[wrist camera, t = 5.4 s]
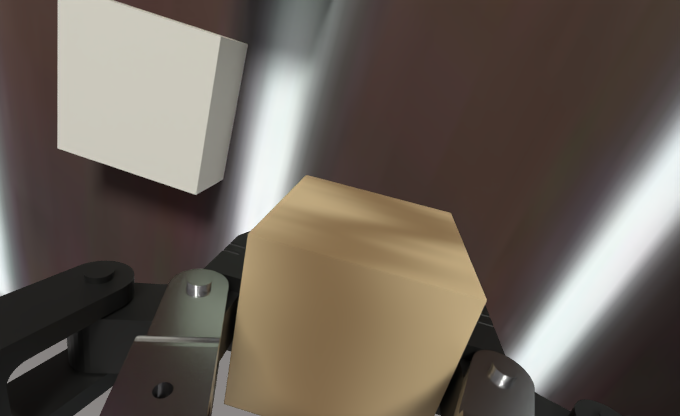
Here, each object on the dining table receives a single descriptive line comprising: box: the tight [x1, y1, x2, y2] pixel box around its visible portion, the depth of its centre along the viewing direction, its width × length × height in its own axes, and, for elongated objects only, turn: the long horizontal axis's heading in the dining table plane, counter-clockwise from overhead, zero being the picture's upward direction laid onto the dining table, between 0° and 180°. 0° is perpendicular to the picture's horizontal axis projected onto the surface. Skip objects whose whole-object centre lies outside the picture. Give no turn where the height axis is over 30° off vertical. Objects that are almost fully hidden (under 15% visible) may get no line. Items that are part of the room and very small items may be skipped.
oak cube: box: [224, 175, 487, 416], centre depth 10 cm, size 5×5×5 cm
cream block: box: [58, 0, 248, 195], centre depth 22 cm, size 9×9×4 cm
